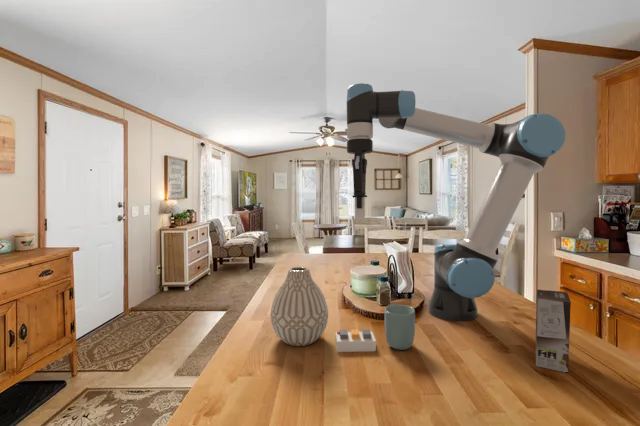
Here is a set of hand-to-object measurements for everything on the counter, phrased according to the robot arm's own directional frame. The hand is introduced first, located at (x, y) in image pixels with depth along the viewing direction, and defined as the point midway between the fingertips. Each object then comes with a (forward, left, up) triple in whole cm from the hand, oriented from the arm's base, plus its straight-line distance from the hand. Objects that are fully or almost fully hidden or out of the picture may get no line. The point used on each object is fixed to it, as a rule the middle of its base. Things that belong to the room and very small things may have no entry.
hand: (359, 219), depth 103 cm
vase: (+15, +13, -33) cm, 38 cm away
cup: (-12, +12, -33) cm, 37 cm away
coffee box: (-47, +13, -33) cm, 58 cm away
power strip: (0, +14, -33) cm, 36 cm away
